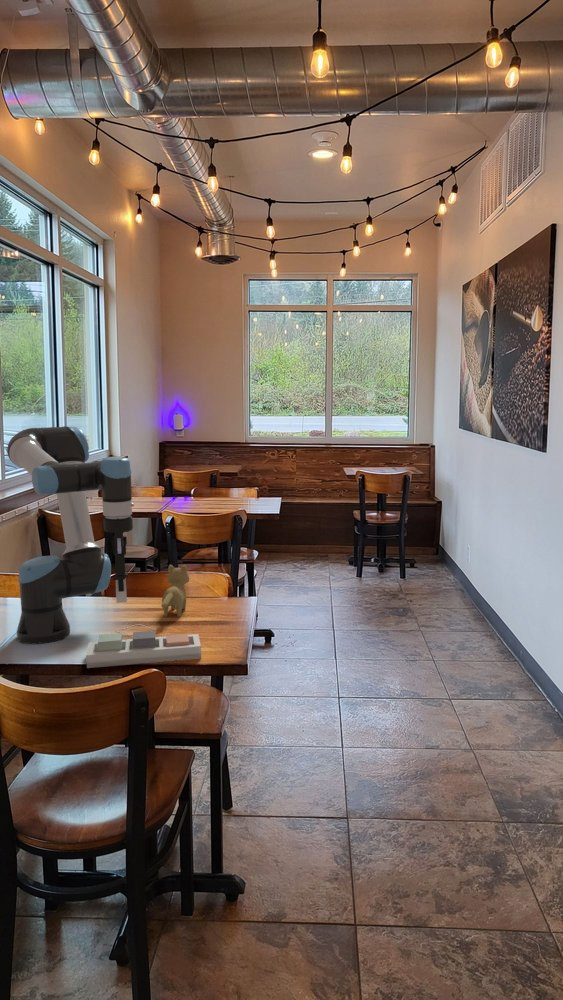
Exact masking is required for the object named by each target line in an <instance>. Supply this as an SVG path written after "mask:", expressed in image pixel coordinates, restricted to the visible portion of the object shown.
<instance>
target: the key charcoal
mask: <svg viewBox="0 0 563 1000" xmlns="http://www.w3.org/2000/svg"><path fill="white" fill-rule="evenodd" d="M132 636H133V637H132V639H133V648H138V647H151V646H156V641H155V637H156V629H152V630H144V631H143V630H142V631H133V632H132Z"/></svg>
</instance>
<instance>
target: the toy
mask: <svg viewBox="0 0 563 1000" xmlns="http://www.w3.org/2000/svg"><path fill="white" fill-rule="evenodd" d="M167 582H168V583H170V587H168V588H167V589H166V590H165V591H164V594H163V595H162V599H161V608H162V609H163V615H164V617H165V618H166V617H168V616H169V613H168V610H169V607H170V608H171V610H176V614H177V615H176V616H177V618H180V617H182V610H186V608H187V590H186V589H185V585H187V583H188V582H190V575H189V574H188V568H187V565H186V564H183V565H181V567H175V566H173V564H169V565H168V574H167Z"/></svg>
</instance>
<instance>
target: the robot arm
mask: <svg viewBox="0 0 563 1000" xmlns="http://www.w3.org/2000/svg"><path fill="white" fill-rule="evenodd" d="M87 439H88V438H87V437H86V434H85V433H84V431H83V430H82V429H80V428H79V427H77V426H67V425H63V426H55V427H53V426H51V427H49V426H48V427H30V428H26V429H23V430H21V431H19V432H17V433H16V434H14V435H13V437H11V439H10V440H9V441H8V444H7V448H6V452H7V453H6V454H7V457H8V459H9V460H10V461H11V463H12V464H13V465H15V467H17V468H20V469H24V470H25V471H26V472H27V473H28V474H29V475H31V483H32V487H33V489H34V492H35V493H36V494H37V495H41V496H42V495H50V496H51V495H55V494H56V497H57V503H58V508H59V514H60V519H61V526H62V530H63V531H62V532H63V536H64V542H65V547H66V548H65V550H64V552H63V553H62V559H60V557H59V556H57V555H43V556H38V557H33V558H31V559H28V560H27V561H25V562H23V563H22V564H21V565H20V566H19V569H18V579H17V580H18V583H19V585H18V586H19V596H20V597H19V598H20V608H21V613H20V616H19V617H20V618H19V622H18V625H17V629H16V639H17V641H18V642H20V643H24V644H31V645H32V644H33V645H34V644H37V645H39V644H47V643H52V642H53V643H54V642H56V641H60V640H62V639H64V638H66V637H68V636H69V635H70V634H71V626H70V623H69V620H68V618H67V616H66V613H65V610H64V608H63V599H67V598H72V597H73V598H74V597H79V596H84V595H94V594H95V593H100V592H101V593H102V592H104V591H105V590H107V588H108V587H109V585H110V581H111V579H112V581H115V598H116V599H115V601H116V604H119V603H122V604H123V603H127V602H128V599H127V597H128V596H127V595H128V594H127V578H126V577H129V574H128V573H126V564H125V562H126V561H125V556H126V554H127V544H128V543H127V536H126V535H124V533H129V532H131V531H132V530H133V529H134V524H133V523H134V521H133V518H134V517H133V516H132V515H133V508H132V507H135V503H134V502H132V470H131V468H132V467H131V461H130V459H129V458H127V457H120V456H113V457H112V456H110V457H105V458H102V459H101V460H93V461H91V462H87V461H88V460H89V457H90V448H89V443H88V440H87ZM99 490H101V493H102V494H101V495H102V500H101V501H102V502H101V503H102V515H103V516H104V517H103V530H104V532H106V533H108V534H111V533H112V534H114V535H113V536H111V537H110V538H111V540H110V542H111V546H112V555H113V556H114V561H115V563H114V565H115V567H114V569H115V570H114V572H115V576H113V577H112V576H111V575H112V563H111V560H110V559H111V558H110V557H109V555H108V554H107V553H105V552H103V553H102V547H101V546H99V545H98V544H97V543H96V542H95V537H94V531H93V528H92V527H93V526H92V521H91V516H90V511H89V505H88V500H87V496H86V492H89V491H99ZM111 577H112V578H111Z"/></svg>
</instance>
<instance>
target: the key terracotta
mask: <svg viewBox="0 0 563 1000" xmlns="http://www.w3.org/2000/svg"><path fill="white" fill-rule="evenodd" d="M188 635H189V634H188V633H183V634H173V635H172V634H171V635H170V634H168V635H165V636H166V641H167V647H171V646H183V645H189V637H188Z"/></svg>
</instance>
